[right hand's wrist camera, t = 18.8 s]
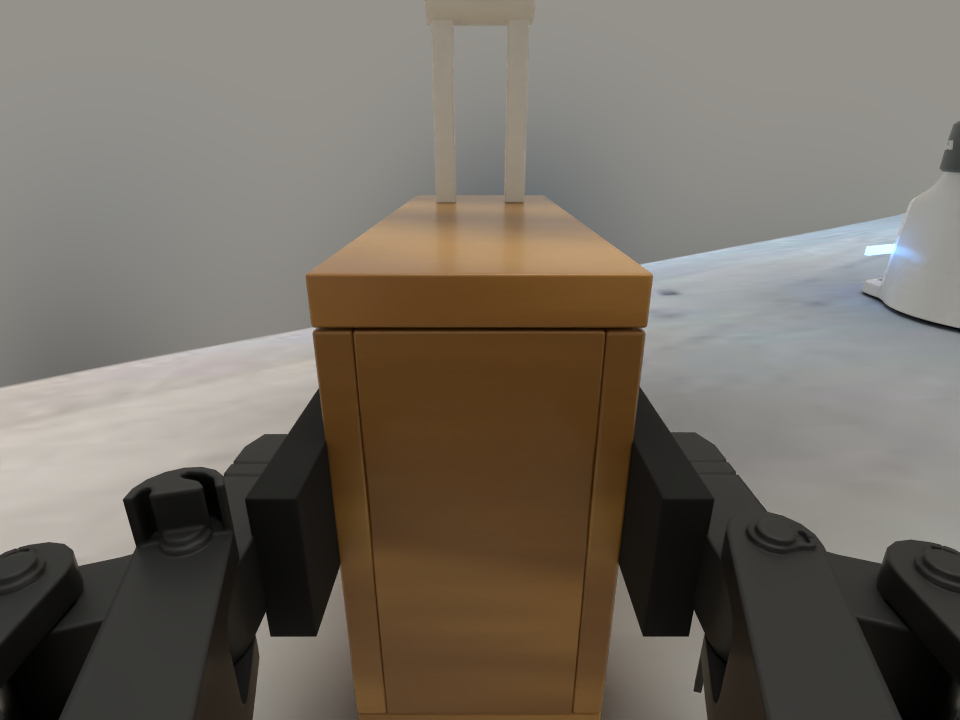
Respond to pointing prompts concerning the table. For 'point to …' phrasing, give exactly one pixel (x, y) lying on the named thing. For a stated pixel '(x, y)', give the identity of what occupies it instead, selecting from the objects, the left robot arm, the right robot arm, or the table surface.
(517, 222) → the lid
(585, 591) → the chest
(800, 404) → the table surface
